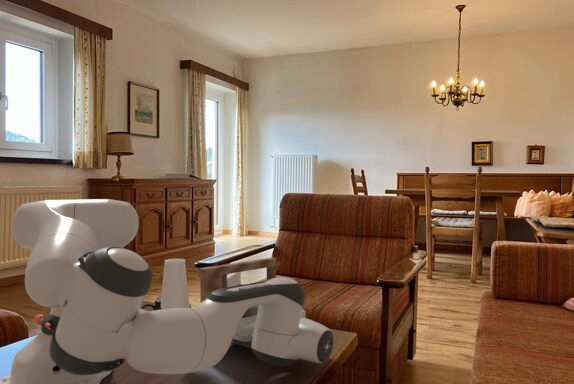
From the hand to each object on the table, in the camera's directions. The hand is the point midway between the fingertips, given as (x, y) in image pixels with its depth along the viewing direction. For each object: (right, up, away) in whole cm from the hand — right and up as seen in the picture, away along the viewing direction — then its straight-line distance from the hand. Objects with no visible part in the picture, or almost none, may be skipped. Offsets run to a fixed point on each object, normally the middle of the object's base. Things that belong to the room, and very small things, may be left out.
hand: (246, 316), depth 124 cm
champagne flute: (-16, -7, -12) cm, 21 cm away
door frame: (-1, -7, -5) cm, 8 cm away
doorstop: (+1, -7, -1) cm, 7 cm away
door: (-3, -6, -1) cm, 7 cm away
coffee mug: (-24, -7, +7) cm, 25 cm away
